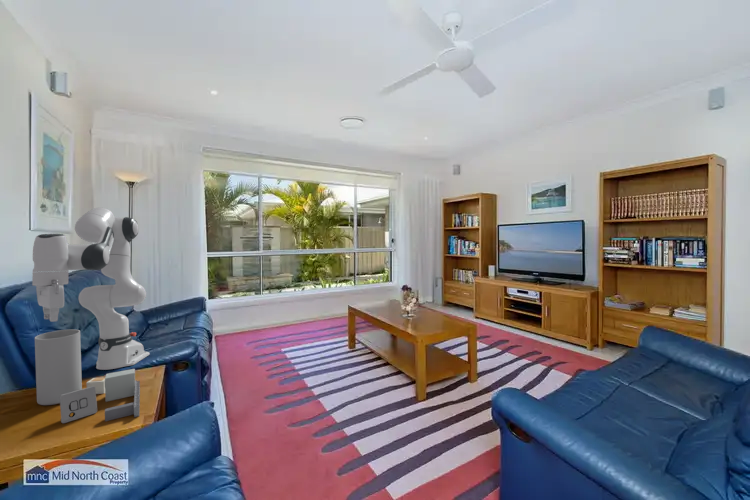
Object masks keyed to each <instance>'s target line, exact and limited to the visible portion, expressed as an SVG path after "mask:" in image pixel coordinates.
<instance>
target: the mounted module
mask: <svg viewBox="0 0 750 500" xmlns="http://www.w3.org/2000/svg"><path fill="white" fill-rule="evenodd" d="M135 381H136V369H135V368H132V369H125V370H121V371H120V370H119V371H115V372H109V373H106V374H105V393H104V395H105V397H104V398H105V403H107V402H111V401H115V400H120V399H124V398H128V397H133V396H134V393H135Z"/></svg>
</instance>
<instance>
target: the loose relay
mask: <svg viewBox="0 0 750 500" xmlns="http://www.w3.org/2000/svg"><path fill="white" fill-rule="evenodd" d="M105 377H106V376H105ZM105 377H93V378H91V379H89V380H88V381H87V382H85V383H86V388H88V387H92V386H94V387H95V391H96V395H99V394H101V395H103V394H105Z"/></svg>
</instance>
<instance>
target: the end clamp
mask: <svg viewBox="0 0 750 500" xmlns="http://www.w3.org/2000/svg"><path fill="white" fill-rule="evenodd" d="M132 415H133V416H134V401H133V402H129V403H124V404H121V405H116V406H112V407H108V408H105V409H104V422H109V421H113V420H117V419H120V418H124V417H128V416H132Z"/></svg>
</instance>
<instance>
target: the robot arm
mask: <svg viewBox="0 0 750 500" xmlns="http://www.w3.org/2000/svg"><path fill="white" fill-rule="evenodd" d="M139 229H140V228H139V224H138V221H137V220H136V219H135V218H133V217H128V216H125V217H121V216H115V215H114V213H113V212H112V210H110V209H108V208H105V207H95V208H92V209H90V210H88V211H87V212H86V213H84V214H83V215H81V217H80V218H78V220H77V221H76V222H75V224H74V230H75V231H74V232H75V233H76V235H77V236H78V237H79V238H80V239H82V240H83V241H85V242H87V243H88V244H87V243H83V244H82V243H78V244H73V243H72V244H71V243H68V238H67V235H65V234H63V233H41V234H39V235H36V236H35V239H34V242H33V245H32V246H33V247H32V261H33V264H34V265H33V269H32V275H31V276H32V277H31V278H32V281H31V285H32V287H36V288H35V290H36V299H37V304H38V306H40V307H42V311H43V319H44V320H49V321H50V322H51V323H52V322H58V320H59V313H60V309H63V308H64V307H65V290H64V289H65V288H64V285H69V271H79V270H81V271H83V270H87V271H88V270H90V271H100V272H101V274H102V275H104V276H105V277H107V278H110V279H113V280H114V282H115V284H101V285H99V284H98V285H97V284H96V285H92V286H86V287H84V288H83V289H81V291H80V292H79V293H78V302H79V305H81V306H82V308H85V309H86V310H88V311H89V312H91V313H92V315H94V316H95V318H96V320H97V322H98V329H99V337H98V346H99V348H98V353H97V354H98V355H97V361H96V362H95V363H96V364H95V365H96V367H95V368H96V369H97V370H101V371H102V370H103V371H104V370H105V371H106V370H113V369H114V370H115V369H121V368H123V367H129V366H134V365H136V364H138V363H139V362H140V361H142V360H144V359H145V358H146V357H148V356H149V355H151V354H150V352H149V351H145V348H144V345H143V344H142V343H141V342H139V341H137V340H135V339H133V337H136V336H137V332H133V331H132V332H130V327H129V323H130V321H129V320H130V319H129V318H128V317H127V316H126V315H125V314H122V313H119V312H117V311H116V310H115V308H123V307H124V308H127V307H128V308H129V307H134V306H138V305H141V304H143V303H144V301H145V299H146V298H147V291H146V289H145V287H144V286H143V285H141V283H140V284H139V282H137V281H136V280H135V279H134V277H133V275H132V272H131V256H132V254H131V245H130V244H131V242H132V241H133V240H134V239H135V238H136V237H137V236H138V234H139Z"/></svg>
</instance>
